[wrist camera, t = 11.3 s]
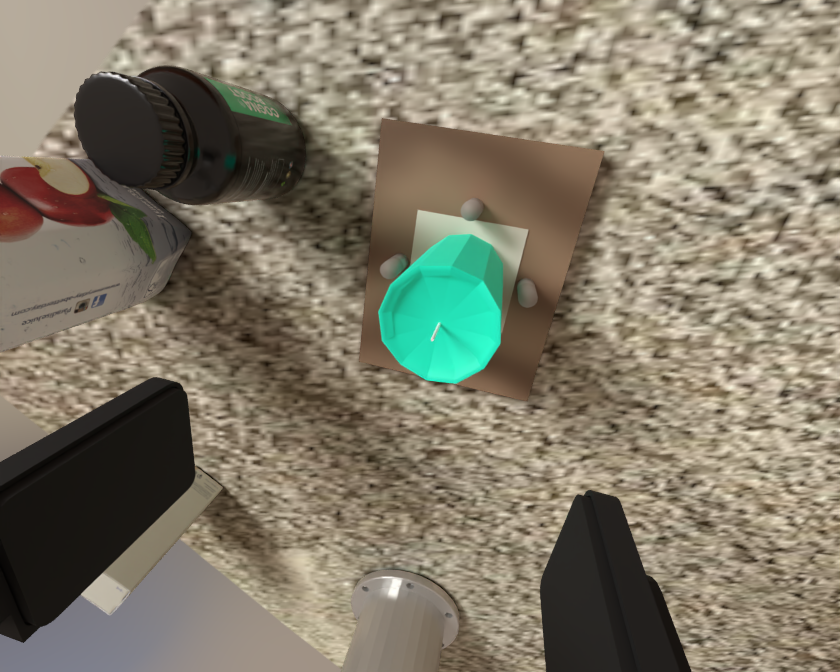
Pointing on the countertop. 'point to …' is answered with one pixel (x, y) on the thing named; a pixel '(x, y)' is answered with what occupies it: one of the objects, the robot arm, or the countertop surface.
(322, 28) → the countertop surface
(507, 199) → the brown pegged board
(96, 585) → the skincare box
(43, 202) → the juice carton
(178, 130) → the supplement bottle
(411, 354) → the candle
